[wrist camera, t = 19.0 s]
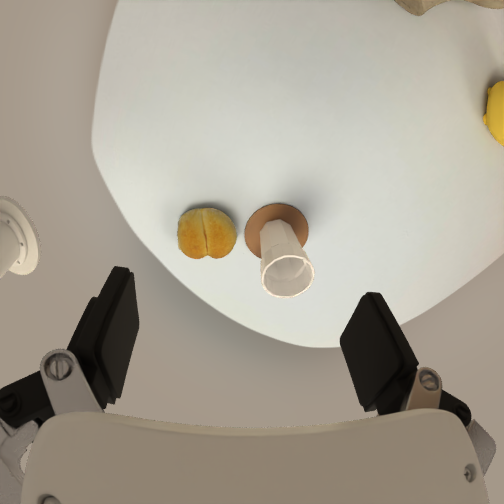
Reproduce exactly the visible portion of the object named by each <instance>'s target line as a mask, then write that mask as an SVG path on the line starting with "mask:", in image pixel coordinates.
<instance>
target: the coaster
mask: <svg viewBox="0 0 504 504" xmlns="http://www.w3.org/2000/svg"><path fill="white" fill-rule="evenodd" d="M278 219H281V220H282V221H284V222H286V223H288V224H289V225H291V227H292V229H293V231H294V233H295V235H296V237H297V239H298V241H299V243H300V245H301V247H302V248H303V246H304V245H305V243H306V241H307V238H308V224H307V221H306V219H305V217H304V216H303V215H302V213H301V212H300V211H299V210H297V209H296V208H294V207H292V206H289V205H286V204H271V205H267V206H265V207H262V208H261V209H259V210H257V211H256V212H255V213H254V214H253V215H252V216H251V217H250V218H249V220H248V222H247V224H246V227H245V241H246V244H247V246H248V248H249V249H250V251H251V252H252V253H253V254H254V255H256V256H257V257H259V258H261V259H262V257H261V242H260V231H261V229H262V228H263V227H264V225H265V224H266V222H269V221H273V220H278Z"/></svg>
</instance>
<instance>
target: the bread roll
mask: <svg viewBox="0 0 504 504" xmlns="http://www.w3.org/2000/svg"><path fill="white" fill-rule="evenodd" d="M177 233H178V234H177V236H178V247H179V249H180V250H181V251H182V252H183V253H184V254H185V255H186V256H188V257H190V258H194V259H200V258H203V257H205V256H207V255H208V256H210V257H212V258H216V259H217V258H222V257H224V256H226V255H227V254H229V253H230V252H231V250H232V249H233V247H234V245H235V243H236V239H237V233H236V228H235V226H234V224H233V222H232V221H231V219H230V218H229V217H228V216H227V215H226V214H225V213H223V212H222V211H220V210H217V209H214V208H202V209H193V210H190V211H188V212H186V213H184V214H183V215H182V216H181V218H180V219H179V221H178V231H177Z"/></svg>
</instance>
